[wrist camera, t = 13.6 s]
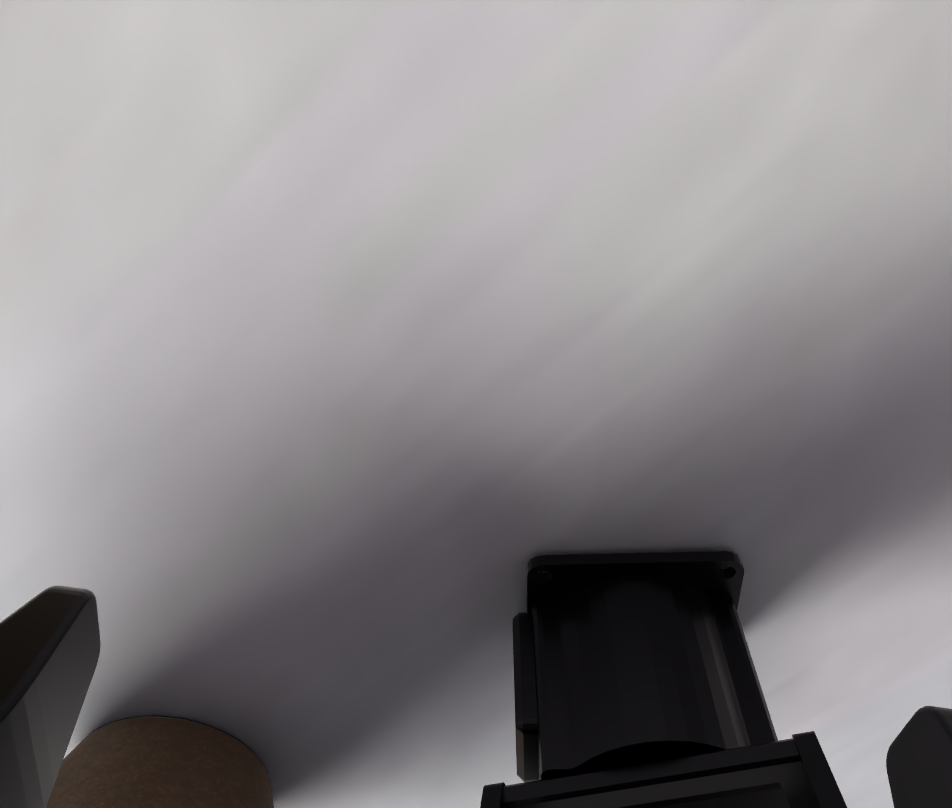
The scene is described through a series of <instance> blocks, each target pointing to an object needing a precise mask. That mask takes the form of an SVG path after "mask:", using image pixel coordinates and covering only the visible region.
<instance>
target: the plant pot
mask: <svg viewBox="0 0 952 808" xmlns="http://www.w3.org/2000/svg"><path fill="white" fill-rule="evenodd" d="M45 808H274V805H273V799H272V793H271V787H270V781H269V778H268V775H267V772H266V769H265V768H264V766H263V764H262V763H261V761H260V760H259V759H258V757H257V756H256V755H255V754H254V753H253V752H252V751H251V750H250V749H249V748H248V747H246V746H245V745H244V744H242V743H241V742H239V741H238V740H236V739H235V738H233V737H231V736H230V735H228V734H226V733H224V732H222V731H219V730H217V729H214V728H212V727H209V726H207V725H203V724H200V723H196V722H193V721H189V720H185V719H180V718H173V717H156V716H144V717H136V718H129V719H123V720H119V721H116V722H112V723H110V724H107V725H105V726H103V727H101V728H99V729H97V730H95V731H94V732H92V733H91V734H89V735H88V736H87V737H86V738H85V739H84V740H83V741H82V742H81V743H80V744H79V745H78V746H77V747H76V748H75V749H74V750H73V751H72V752H71V753H70V754H69V755H67V756H66V757H65V758H64V759H63V761H62V764H61V767H60V769H59V772H58V775H57V778H56V781H55V783H54V786H53V789H52V792H51V794H50V797H49V799H48V802H47V805H46V807H45Z"/></svg>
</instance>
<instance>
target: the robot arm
mask: <svg viewBox="0 0 952 808" xmlns="http://www.w3.org/2000/svg"><path fill="white" fill-rule="evenodd" d="M724 567H729V568H727V569H722V568H724ZM540 571H548V572H547V573H538V572H540ZM526 574H527V612H519V613H518V614H517V615H516V616H515V617H514V618H513V653H514V688H515V722H516V755H517V775H518V776H519V777H520V778H521V779H522V780H523V781H524V782H525V783H519V784H513V785H507V786H506V785H505V784H504V782H503V783H497V784H491V785H485V786H484V788H483V794H482V800H481V806H480V808H847V806H846V804H845V802H844V799H843V797H842V795H841V792H840V790H839V788H838V785H837V783H836V781H835V779H834V776H833V774H832V772H831V769H830V767H829V765H828V762H827V760H826V758H825V755H824V753H823V751H822V748H821V746H820V744H819V742H818V739H817V737H816V735H815V732H814V731H812V732H805V733H799V734H793V735H792V738H793V739H786V740H780V741H778V739H777V736H776V733H775V730H774V727H773V724H772V720H771V717H770V714H769V711H768V708H767V705H766V702H765V698H764V695H763V692H762V689H761V686H760V683H759V680H758V677H757V673H756V670H755V667H754V664H753V661H752V658H751V655H750V651H749V648H748V645H747V642H746V639H745V636H744V633H743V629H742V626H741V623H740V620H739V617H738V614H737V607H738V602H739V596H740V591H741V586H742V581H743V575H744V568H743V565H742V562H741V559H740V557H739V556H738V555H737V554H735V553H733V552H728V551H716V552H672V553H629V554H585V555H543V556H537V557H534V558H533V559H531V560H530V561H529V562H528V563H527V567H526ZM99 653H100V633H99V623H98V613H97V603H96V598H95V595H94V594H93V592H92V591H90V590H87V589H80V588H72V587H65V586H52V587H50V588H47V589H46V590H44V591H42V592H41V593H40V594H38V595H37V596H36V597H34V598H33V599H32V600H30V601H29V602H28V603H26V604H25V605H24V606H22V607H21V608H19V609H18V610H17V611H15V612H14V613H13V614H11V615H10V616H9V617H7V618H6V619H5V620H3V621H2V622H1V623H0V808H45V807H46V805H47V802H48V799H49V797H50V794H51V792H52V789H53V786H54V783H55V781H56V778H57V775H58V772H59V769H60V767H61V764H62V761H63V758H64V755H65V753H66V750H67V747H68V744H69V741H70V739H71V736H72V733H73V730H74V727H75V724H76V722H77V719H78V716H79V713H80V710H81V708H82V705H83V702H84V699H85V696H86V694H87V691H88V688H89V685H90V682H91V680H92V677H93V674H94V671H95V668H96V665H97V662H98V658H99ZM886 767H887V774H888V779H889V784H890V788H891V793H892V798H893V803H894V808H952V709H948V708H941V707H933V706H925V707H923V708H920V709H919V710H918V711H917V712H916V713H915V714H914V715H913V717H912V718H911V719H910V721H909V722H908V723H907V724H906V726H905V727H904V728H903V730H902V731H901V732H900V734H899V735H898V736H897V737H896V739H895V740H894V741H893V743H892V744H891V746H890V747H889V750H888V753H887V759H886Z"/></svg>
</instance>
